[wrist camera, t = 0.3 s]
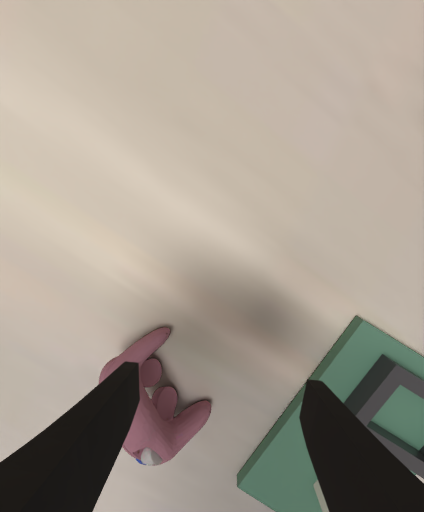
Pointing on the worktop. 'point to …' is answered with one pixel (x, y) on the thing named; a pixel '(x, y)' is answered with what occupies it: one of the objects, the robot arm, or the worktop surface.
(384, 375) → the frame
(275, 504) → the circuit board
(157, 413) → the pink toy figure
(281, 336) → the worktop surface
